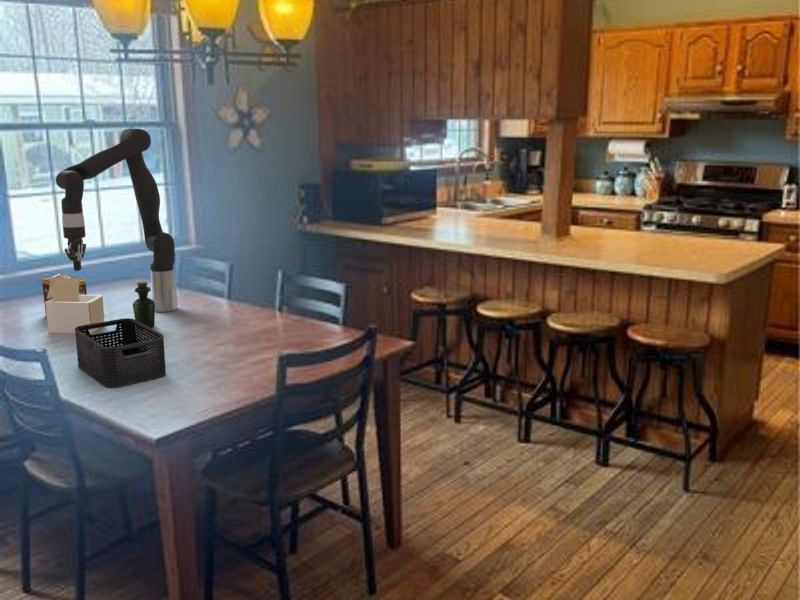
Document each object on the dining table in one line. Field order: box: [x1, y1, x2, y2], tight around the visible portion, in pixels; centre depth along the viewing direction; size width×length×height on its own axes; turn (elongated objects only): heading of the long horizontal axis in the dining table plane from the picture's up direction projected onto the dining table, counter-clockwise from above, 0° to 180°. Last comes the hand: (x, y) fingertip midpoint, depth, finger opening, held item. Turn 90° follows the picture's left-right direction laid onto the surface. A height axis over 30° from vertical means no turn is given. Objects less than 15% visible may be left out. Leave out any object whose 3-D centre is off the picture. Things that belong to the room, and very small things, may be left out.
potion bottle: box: [132, 280, 156, 330], centre depth 274 cm, size 8×8×18 cm
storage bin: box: [74, 317, 167, 389], centre depth 227 cm, size 29×19×13 cm
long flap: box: [52, 277, 81, 302], centre depth 264 cm, size 10×9×1 cm
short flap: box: [47, 273, 61, 299], centre depth 269 cm, size 9×6×1 cm
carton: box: [44, 294, 105, 335], centre depth 272 cm, size 17×13×12 cm
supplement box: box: [41, 274, 88, 317], centre depth 288 cm, size 10×15×16 cm
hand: (77, 270), depth 271 cm, fingers closed
